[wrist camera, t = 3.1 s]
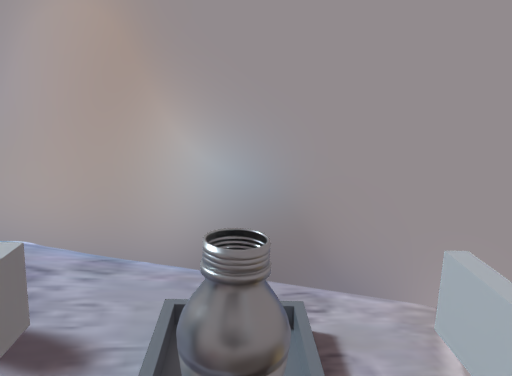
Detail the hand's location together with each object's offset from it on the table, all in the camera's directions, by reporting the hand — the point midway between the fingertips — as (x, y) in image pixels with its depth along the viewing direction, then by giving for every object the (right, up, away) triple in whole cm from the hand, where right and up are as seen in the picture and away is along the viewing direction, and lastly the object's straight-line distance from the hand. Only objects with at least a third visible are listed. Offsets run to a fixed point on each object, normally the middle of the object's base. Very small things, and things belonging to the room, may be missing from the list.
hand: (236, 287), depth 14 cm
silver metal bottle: (-1, -19, +14) cm, 24 cm away
